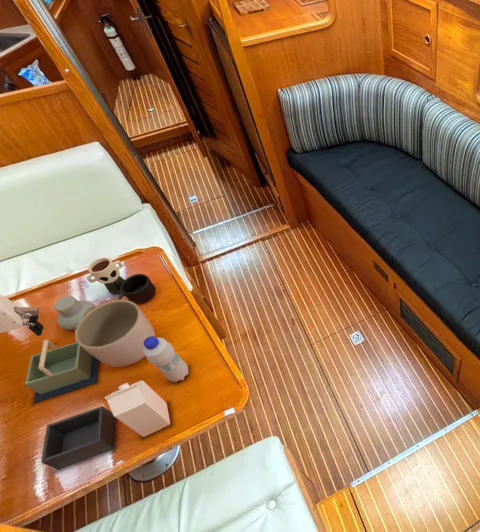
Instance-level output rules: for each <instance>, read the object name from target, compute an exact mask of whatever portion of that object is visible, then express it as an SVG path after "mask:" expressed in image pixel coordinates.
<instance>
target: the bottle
mask: <svg viewBox="0 0 480 532" xmlns="http://www.w3.org/2000/svg"><path fill="white" fill-rule="evenodd" d="M143 352H144V354H145V358H146V359H147V361H148V362H149V363H150V364H151V365H154V366H155V367H156V368H157V369H158V370H159V371H160V372H161V373H162V374H163V377H165V379H166V380H167V381H170V382H172V383H178V382H179V381H184V380H185V377H186V376H188V375H189V365H188V364H187V363H186V362H185V361H184V360H183V359H182V358H181V357H180V355H178V353H177V352H176V351H175V348H174V347H173V345H172V343H170V342H169V341H168V340H167V339H165V338H163V337H156V336H155V337H154V336H150V337H148V338H146V339H145V340H144V349H143Z"/></svg>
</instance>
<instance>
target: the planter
mask: <svg viewBox="0 0 480 532" xmlns="http://www.w3.org/2000/svg"><path fill="white" fill-rule="evenodd" d="M95 307H96V308H94V309H92V310H91V311H90V312H88V313H87V314H86V315H85V316H84V317H83V318H82V319H81V320H80V322H79V323H78V325H77V327H76V330H74V339H75V342H77V343H78V344H79V345H80V346H81V347H82V348H84V349H85V350H86V351H87V352H89V353H90V354H91V355H92V356H94V357H95V358H96V359H98V360H99V361H98V362H101V363H102V364H105V366H106V365H107V366H109V367H113V368H121V367H122V368H123V367H128V366H131V365H134V364H136V363H138V362H140V361H141V360H143V359H144V358H146V356H145V354H144V352H143V349H144V340H145V339H146V338H148V337H150V336H154V337H156V332H155V329H154V327H153V325H152V323H151V321H150V320H149V319H148V318H147V316H146V314H144V312H143V311H142V309H141V308H140V307H139V306H138V304H135V303H133V302H131V301H129V300H128V299H121V300H119V299H114V300H110V301H107V302H103V303H102V304H99V305H98V306H95Z"/></svg>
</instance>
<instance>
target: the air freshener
mask: <svg viewBox="0 0 480 532" xmlns="http://www.w3.org/2000/svg"><path fill="white" fill-rule="evenodd" d="M96 307H97V306H96V305H95V303H93V302H91V301H88V300H78V299H77V298H76V297H74V296H73V295H65V296H62V297H61V298H59V299H57V300H56V302H55V303H54V305H53V309H54V310H55V311H56V312H57V313H58V315H57V318H56V323H57V325H58V326H59V327H60V328H61V329H63V330H67V331H75V330H76V327H77V325H78V323H79V322H80V320H81V319H82V318H83V317H84V316H85V315H86V314H87V313H88V312H90V311H91V310H92V309H94V308H96Z"/></svg>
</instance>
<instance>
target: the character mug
mask: <svg viewBox="0 0 480 532" xmlns="http://www.w3.org/2000/svg"><path fill="white" fill-rule="evenodd" d="M117 265H118V266H117ZM123 267H124V264H123V263H122V261H120V260H119V259H118V260H115V261H113V260H112V259H111V258H109V257H99V258H96V259H94V260H93V261H91V262H90V264H89V265H88V267H87V271H88V272H89V273H90V274H88V275H86V276H85V278H86V280H87V281H88V282H89V283H90V284H93V283H96V282H98V283H100V284H103V285H104V286H105V288H106V290H107V291H108V293H109V294H110V295H114V296H117V295H122V294H121V293H122V292H121V289H120V287H121V284H122V283H123V281H124V280H125V279H124V278H123V276H121V275H120V274H121V273H120V272H121V271H120V269H122V268H123ZM92 277H93V279H92Z"/></svg>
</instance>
